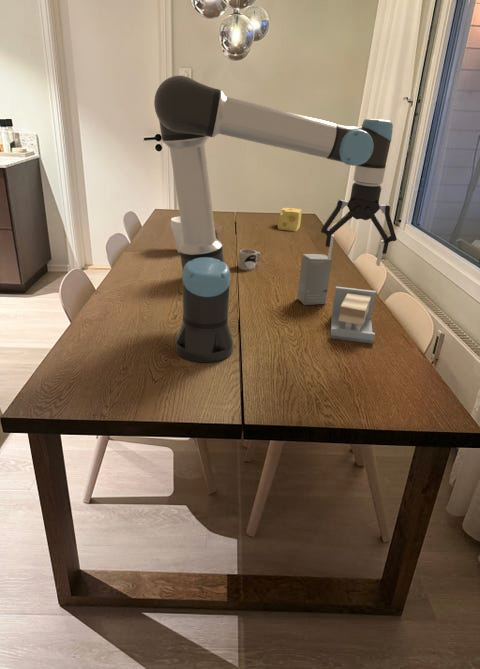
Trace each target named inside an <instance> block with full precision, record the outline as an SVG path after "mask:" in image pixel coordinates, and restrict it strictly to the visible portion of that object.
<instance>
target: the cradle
mask: <svg viewBox="0 0 480 669" xmlns="http://www.w3.org/2000/svg"><path fill="white" fill-rule="evenodd" d="M347 293H352V294H358V295H363V296H369V297H371V300H370V305H369V311H368V313H367V316H366V318H365V321H364V324H363V325H358V324H353V323H348V322H343V321H338V320H339V313H340V307H341V305H342V303H343V301H344V299H345V297H346V295H347ZM376 293H377V291H376V290H369V289H362V288H361V289H360V288H353V287H343V286H338V285H337V286H335V292H334V298H333V304H332V311H331V323H330V339H334V340H339V341H340V340H341V341H349V342H355V343H363V344H369V345H371V344H372V345H373V344H374V340H375V335H376V333H375V332H373V326H372V315H373V309H374V304H375V299H376V295H377V294H376Z"/></svg>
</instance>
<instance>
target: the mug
mask: <svg viewBox="0 0 480 669" xmlns="http://www.w3.org/2000/svg"><path fill="white" fill-rule="evenodd" d="M238 253H239V256H238V269H240V270H242V271H254V270H255V269H256V265H258V264H260V262H261V252H260V251H256V250H255V249H249V248H243V249H240V250H239V252H238Z"/></svg>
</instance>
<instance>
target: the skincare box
mask: <svg viewBox="0 0 480 669" xmlns="http://www.w3.org/2000/svg"><path fill="white" fill-rule="evenodd" d="M332 262H333V259H332V257H331V258H330V260H328V255H326V254H324V253H323V254H322V253H321V254H320V253H319V254H316V253H303V254H302V256H301V264H300V266H301V267H300V273H299V279H298V280H299V281H298V287H297V295H296V296H297V297H296V299H298V301H300V302H301V303H302V305H304V306H310V305H312V306H313V305H325V304H326V301H327V295H328V289H329V282H330V275H331V269H332Z"/></svg>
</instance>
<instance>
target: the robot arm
mask: <svg viewBox="0 0 480 669" xmlns="http://www.w3.org/2000/svg"><path fill="white" fill-rule="evenodd" d="M153 101H154V102H153V103H154V104H153V106H154V111H155V114H156V117H157V119H158V123H159V128H160V134H161V140H162V143H163V144H164V145H166V146H167V147H168V148H169V150H170V151H169V152H170V159H171V164H172V171H173V177H174V184H175V186H174V187H175V191H176V198H177V204H178V211H179V217H180V219H181V226H182V232H183V239H184V243H183V245H182V246H181V247H180V249H179V250H180V253H179V256H180V263H181V269H182V275H181V279H182V280H181V281H182V323H181V325H180V328H179V332H178V334H177V337H176V339H175V340H176V341H175V351H176V353H177V354H178V355H179V356H180V357H181V358H183V359H186V360H188V361H190V362H191V361H192V362H197V363H214V362H220V361H222V360H225V359H227V358H228V357H230V356H231V355H232V354H233V351H234V341H233V336H232V334H231V333H232V332H231V330H230V326H229V322H228V320H229V319H228V317H229V304H230V303H229V298H230V297H229V296H230V284H231V274H230V273H231V270H230V267H229V265H228V264H227V263H225V257H224V251H223V250H224V249H223V248H222V243H221V242H220V241H218V240H217V239H216V236H215V228H214V224H215V221H214V213H213V204H212V196H211V189H210V181H209V170H208V162H207V156H206V155H207V154H206V148H205V147H206V146H205V145H206V142H207V141H208V139H209V138H215V137H216V136H217V135H218V136H219V135H222V136H223V135H224V136H227V137H231V138H235V139H240V140H244V141H250V142H253V143H259V144H263V145H267V146H271V147H275V148H280V149H285V150H288V151H293V152H297V153H301V154H306V155H310V156H314V157H315V156H316V157H319V158H323V159H328V160H331V161H334V162H335V161H336V162H339V163H343V164H345V165H347V166H354V168H355V169H354V175H353V181H354V182H353V183H352V186H351V191H350V197H349V200H348V201H347V200H343V199H342V198H339V199H338V200H337V203H336V206H335V208H334V209H333V211H332V212H331V214H330V215H329V217H328V218H327V219H326V221H325V222H324V224H323V225H322V226H321V229H320V232H321V233H322V234H325V235H326V240H325V247H326V248H328V253H327V256H328V260H330V258H331V259H332V251H333V245H334V238H335V234H334V233H336V232H337V231H338V230H339V229H340V228H341V227H343V226H344V225H345V224H346V223H347V222H348V221H350V220H351V219H352V218H354V219H355V220H364V221H368V220H371V222H372V223H373V225H374V226H375V228H376V229H377V231H378V233H379V235H380V236H381V238H382V239H383V240H380V244H379V247H378V253H377V258H376V262H375V263H376V266H377V267H379V266H381V262H382V261H381V260H382V256H383V255H384V254H385V255H386V254H387V251H388V248H389V244H390V242H396V241H397V236H396V232H395V228H394V224H393V222H392V219H391V214H390V213H391V206H390V204H389V203H385V204H380V197H381V192H382V186H381V185H382V184H383V182H384V177H385V172H386V167H387V165H386V164H387V161H388V156H389V153H390V152H389V151H390V146H391V142H392V136H393V128H394V125H393V122H392V121H391V120H387V119H377V118H365V119H363V122H362V124H361V126H351V125H342V124H339V123H338V124H337V123H334V122H330V121H326V120H323V119H320V118H319V119H318V118H316V117H315V118H314V117H310V116H306V115H302V114H298V113H294V112H289V111H286V110H283V109H282V110H281V109H278V108H274V107H270V106H266V105H261V104H257V103H254V102H249V101H245V100H242V99H238V98H234V97H230V96H229V97H228V96H226V95H225V93H224V92H223V90H222V89H218V88H215V87H211V86H208V85H205V84H203V83H201V82H198V81H197V80H194V79H193V78H191V77H189V76H186V75H173V76H169V77H168V78H167V79H165V80H163V81H162V82H161V83H160V84H159V86H158V88H157V89H156V92H155V95H154V100H153ZM345 207H347V208H348V210H349V211H347V212H346V214H345V215H344V216H343V217H342V218H340V220H338V221H337V222H335V224H334V225H333V226H331V227H330V225H331V224H332V223H333V222H334V220H335V218H336V217H337V216H338V214H339V213H340V212H341V210H343V209H344V208H345ZM379 210H380V211H381V213H382V214H383V215H384V219H385V222H386V224H387V228H388V232H389V236H388V234H387V233H386V231H385V230H384V228H383V226H382V225H381V223H380V221H379V220H378V218H377V216H376V215H375V214H376V213H378V212H379ZM329 227H330V228H329Z"/></svg>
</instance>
